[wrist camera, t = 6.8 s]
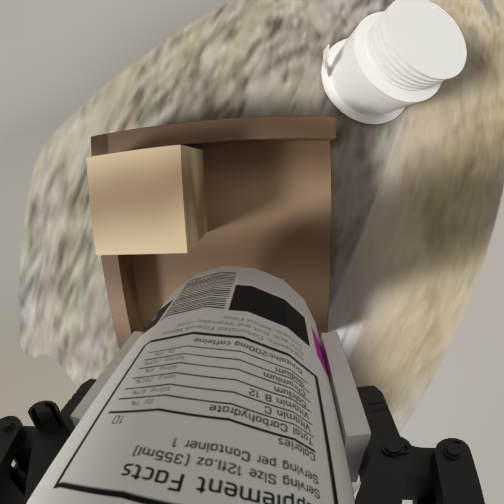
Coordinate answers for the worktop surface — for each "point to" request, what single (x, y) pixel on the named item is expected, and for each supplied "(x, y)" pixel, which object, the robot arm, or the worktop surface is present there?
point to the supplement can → (212, 407)
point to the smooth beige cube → (147, 200)
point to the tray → (237, 212)
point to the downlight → (393, 61)
